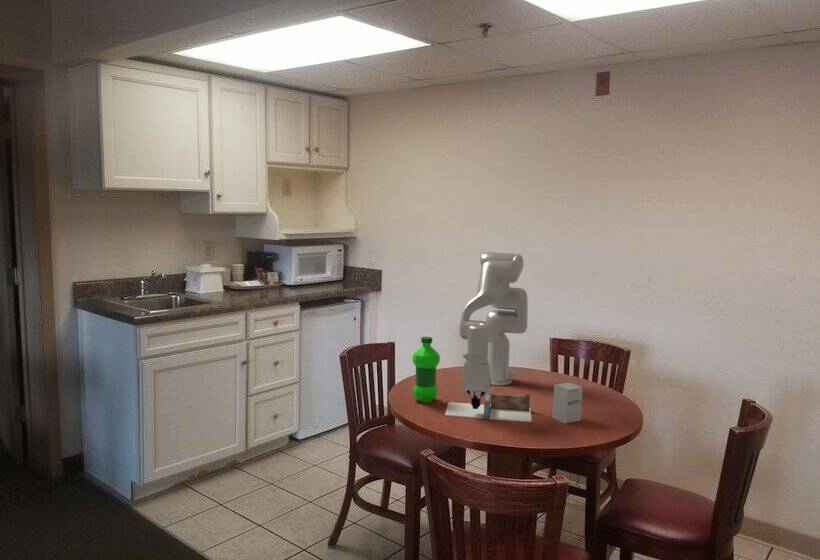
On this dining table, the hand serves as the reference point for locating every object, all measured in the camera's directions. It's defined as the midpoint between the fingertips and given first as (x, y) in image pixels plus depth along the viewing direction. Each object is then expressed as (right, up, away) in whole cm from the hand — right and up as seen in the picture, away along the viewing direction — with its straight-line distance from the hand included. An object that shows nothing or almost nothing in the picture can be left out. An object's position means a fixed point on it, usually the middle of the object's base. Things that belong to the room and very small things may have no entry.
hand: (475, 407), depth 224 cm
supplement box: (+33, -4, -3) cm, 33 cm away
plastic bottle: (-18, -1, +16) cm, 24 cm away
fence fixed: (+14, -2, +6) cm, 15 cm away
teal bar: (+4, -2, +1) cm, 5 cm away
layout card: (+5, -2, +3) cm, 6 cm away
